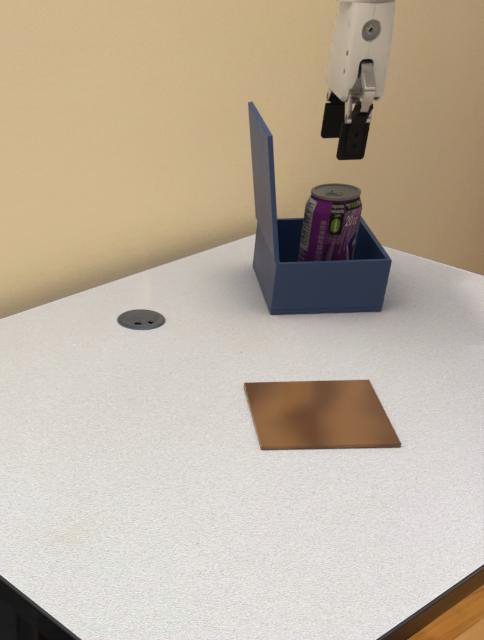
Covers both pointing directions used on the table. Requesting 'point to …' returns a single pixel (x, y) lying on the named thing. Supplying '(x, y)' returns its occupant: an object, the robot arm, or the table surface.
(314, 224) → the beverage can
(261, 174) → the lunchbox lid
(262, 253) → the box
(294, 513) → the table surface
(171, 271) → the table surface
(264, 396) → the cork mat
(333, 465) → the table surface
